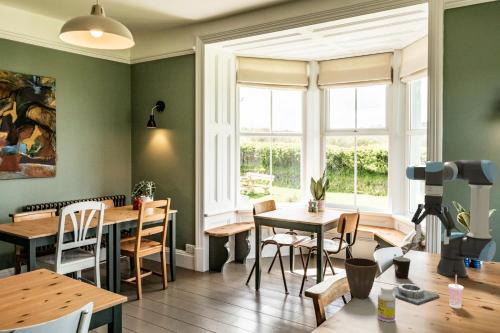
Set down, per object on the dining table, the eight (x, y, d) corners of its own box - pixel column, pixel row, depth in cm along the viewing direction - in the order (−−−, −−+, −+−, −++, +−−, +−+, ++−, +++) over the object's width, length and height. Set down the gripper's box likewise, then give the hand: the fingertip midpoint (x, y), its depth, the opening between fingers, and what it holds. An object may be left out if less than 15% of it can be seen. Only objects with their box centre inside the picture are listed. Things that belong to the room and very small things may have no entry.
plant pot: (359, 304, 171) (360, 268, 171) (336, 293, 185) (337, 259, 184) (383, 298, 178) (384, 264, 178) (360, 288, 191) (361, 256, 191)
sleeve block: (404, 286, 197) (405, 279, 197) (439, 297, 182) (439, 289, 182) (382, 292, 186) (382, 285, 186) (417, 304, 172) (417, 297, 171)
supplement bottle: (374, 315, 159) (375, 284, 158) (390, 315, 159) (391, 284, 159) (381, 322, 152) (382, 290, 152) (397, 322, 153) (398, 290, 152)
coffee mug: (411, 280, 206) (412, 261, 206) (394, 278, 208) (395, 260, 208) (407, 273, 218) (407, 256, 218) (391, 272, 220) (391, 255, 219)
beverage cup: (458, 303, 174) (459, 272, 174) (466, 309, 168) (467, 276, 167) (444, 303, 174) (445, 272, 173) (452, 309, 168) (453, 276, 167)
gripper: (404, 192, 186) (403, 236, 187) (456, 197, 165) (454, 247, 166) (413, 192, 190) (412, 235, 191) (465, 197, 170) (463, 245, 170)
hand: (431, 241), depth 178 cm, fingers open, 13 cm apart
